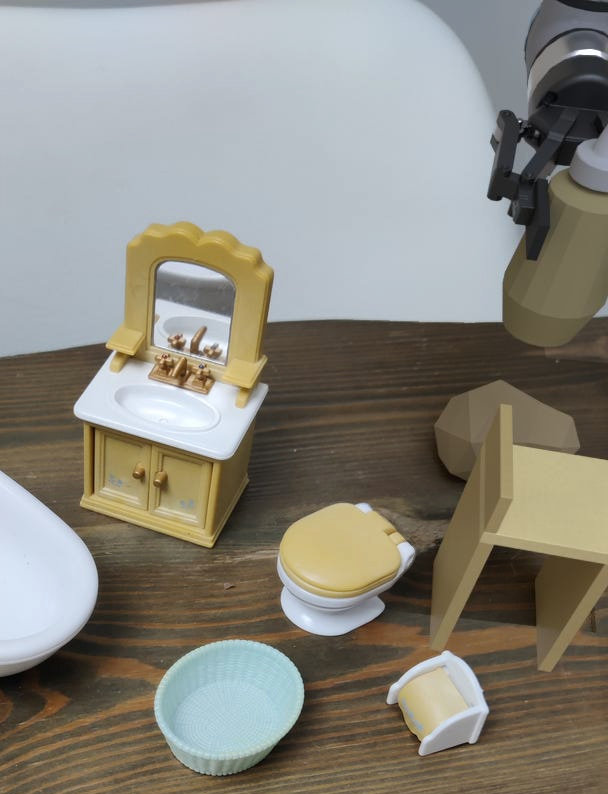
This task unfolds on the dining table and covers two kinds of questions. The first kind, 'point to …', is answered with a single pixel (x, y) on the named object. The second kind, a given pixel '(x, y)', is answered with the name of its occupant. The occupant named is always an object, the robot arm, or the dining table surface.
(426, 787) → the dining table surface
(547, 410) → the low-poly potato
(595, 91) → the robot arm
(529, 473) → the tan chair
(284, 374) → the dining table surface
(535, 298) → the squeeze bottle
